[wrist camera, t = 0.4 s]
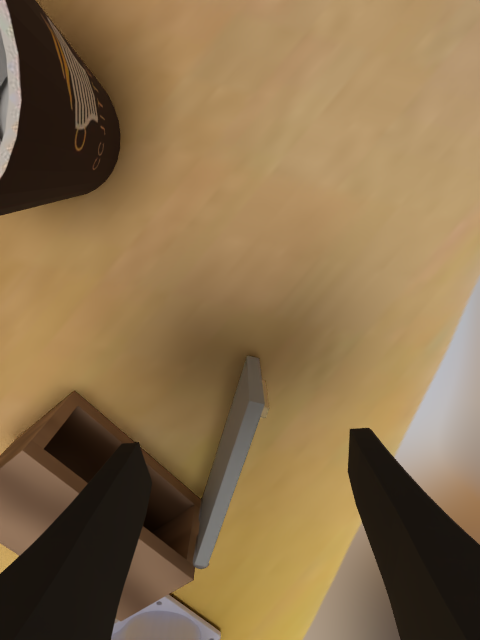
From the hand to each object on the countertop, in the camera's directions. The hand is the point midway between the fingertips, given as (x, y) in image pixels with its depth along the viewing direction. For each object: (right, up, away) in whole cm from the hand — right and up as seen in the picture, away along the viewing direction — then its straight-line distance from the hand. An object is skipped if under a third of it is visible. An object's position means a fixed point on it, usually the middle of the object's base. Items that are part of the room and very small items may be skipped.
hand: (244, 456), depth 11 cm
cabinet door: (-1, -3, +12) cm, 12 cm away
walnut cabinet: (-10, -7, +13) cm, 18 cm away
